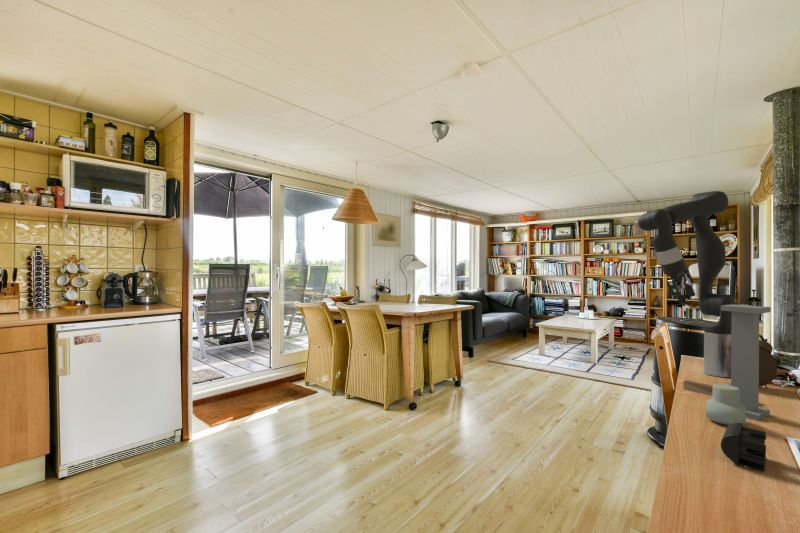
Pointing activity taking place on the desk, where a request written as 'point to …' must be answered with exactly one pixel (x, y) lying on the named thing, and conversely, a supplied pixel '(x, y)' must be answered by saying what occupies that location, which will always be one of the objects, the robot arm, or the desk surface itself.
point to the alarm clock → (765, 362)
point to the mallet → (698, 387)
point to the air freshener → (726, 405)
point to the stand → (746, 356)
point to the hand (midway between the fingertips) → (688, 300)
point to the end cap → (745, 446)
